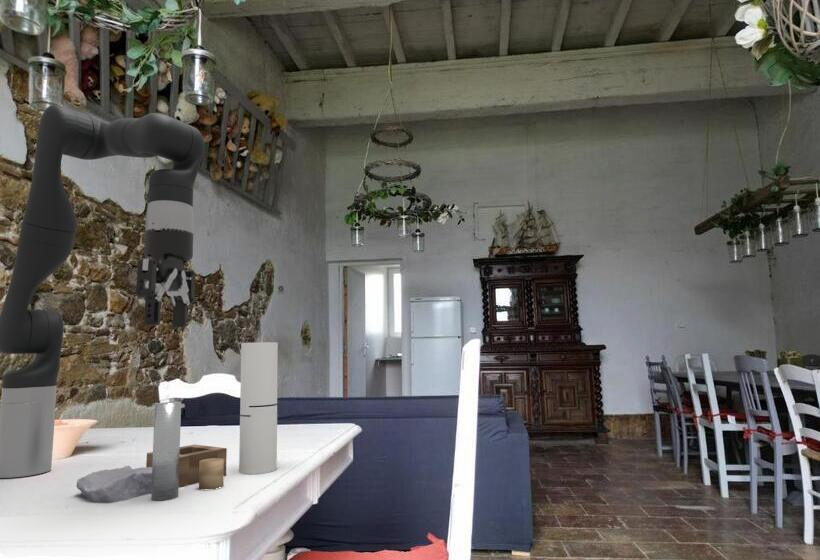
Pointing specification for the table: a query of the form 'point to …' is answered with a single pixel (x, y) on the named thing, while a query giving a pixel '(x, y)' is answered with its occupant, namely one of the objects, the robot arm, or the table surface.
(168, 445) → the steel pin
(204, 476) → the oak stub
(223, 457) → the collar
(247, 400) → the cylindrical container
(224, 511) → the table surface
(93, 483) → the stone block
